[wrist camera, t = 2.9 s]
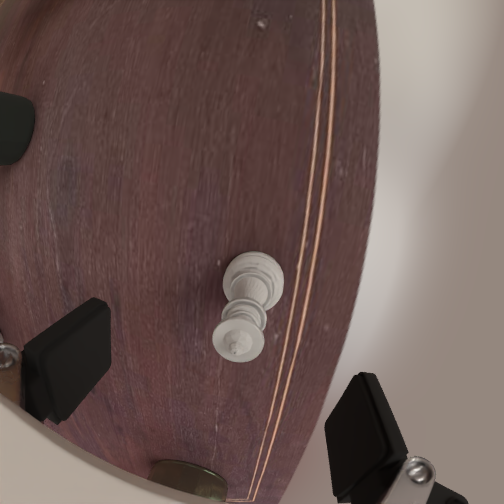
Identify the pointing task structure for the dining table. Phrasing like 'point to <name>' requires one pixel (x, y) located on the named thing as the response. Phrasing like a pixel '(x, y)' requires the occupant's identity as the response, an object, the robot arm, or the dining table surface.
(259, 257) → the chess piece
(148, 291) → the dining table surface
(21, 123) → the wine bottle
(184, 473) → the pot
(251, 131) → the dining table surface
